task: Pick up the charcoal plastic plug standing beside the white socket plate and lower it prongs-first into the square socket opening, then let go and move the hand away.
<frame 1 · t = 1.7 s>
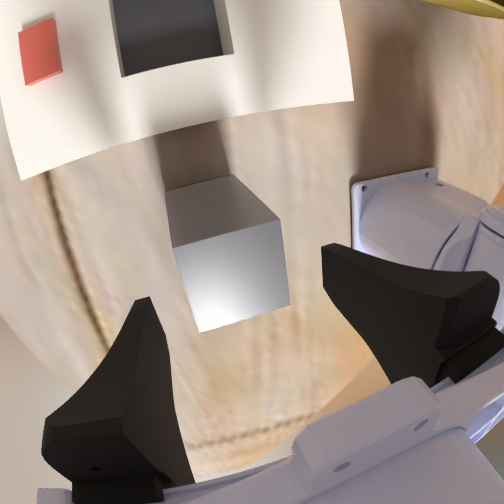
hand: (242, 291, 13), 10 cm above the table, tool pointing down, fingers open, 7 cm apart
plug: (204, 210, 21), on the table
socket plate: (167, 26, 15), on the table
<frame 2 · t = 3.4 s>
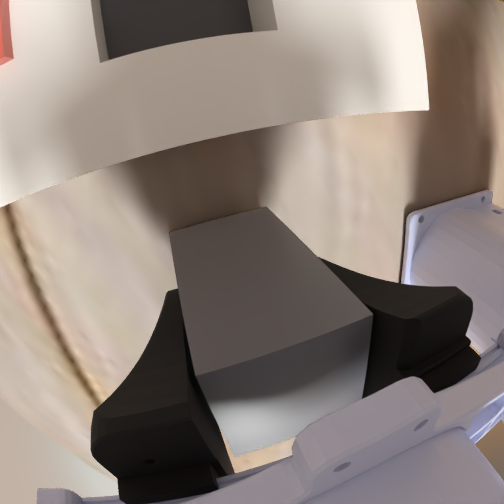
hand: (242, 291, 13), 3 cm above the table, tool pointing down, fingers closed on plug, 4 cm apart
plug: (224, 254, 16), on the table, touching gripper
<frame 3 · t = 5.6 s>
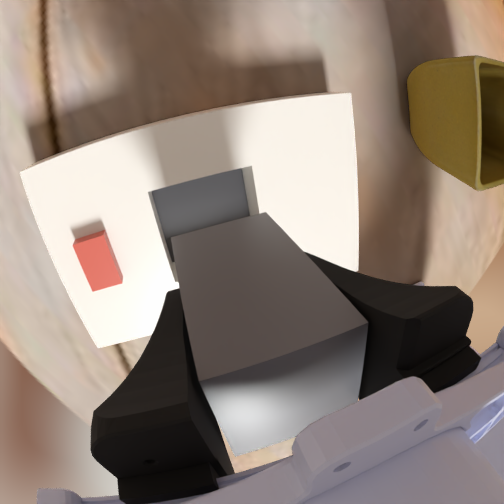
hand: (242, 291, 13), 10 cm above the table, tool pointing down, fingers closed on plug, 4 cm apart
plug: (224, 258, 16), point 7 cm above the table, touching gripper
socket plate: (203, 210, 22), on the table
flower pot: (425, 105, 23), on the table
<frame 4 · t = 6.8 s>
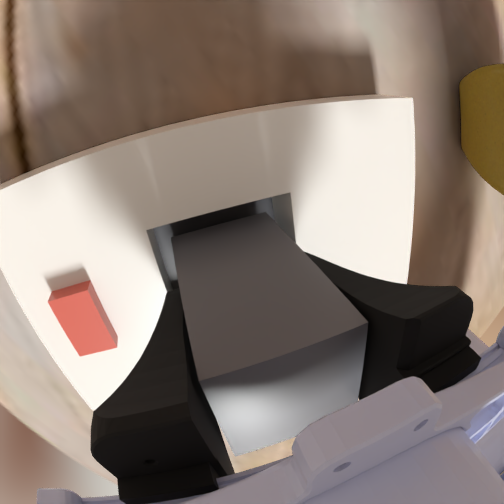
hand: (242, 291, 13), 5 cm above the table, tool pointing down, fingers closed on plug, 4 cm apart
plug: (224, 258, 16), point 1 cm above the table, touching gripper
socket plate: (219, 244, 17), on the table
flower pot: (474, 114, 18), on the table
when the fingers open (4 cm above the table, at t = 8.0 s): plug stays where it is, resting on socket plate.
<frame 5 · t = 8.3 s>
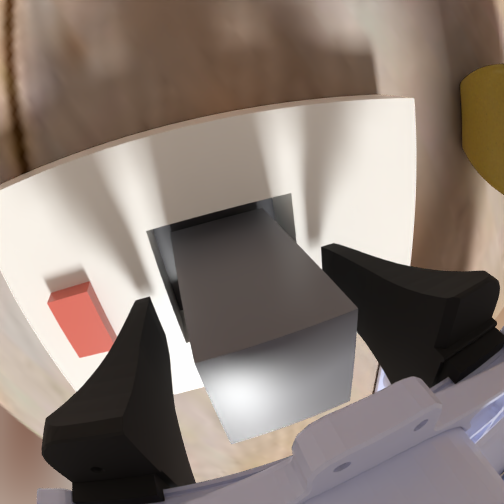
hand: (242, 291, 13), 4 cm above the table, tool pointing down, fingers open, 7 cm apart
plug: (222, 253, 17), resting on socket plate
socket plate: (220, 245, 17), on the table
flower pot: (475, 114, 18), on the table
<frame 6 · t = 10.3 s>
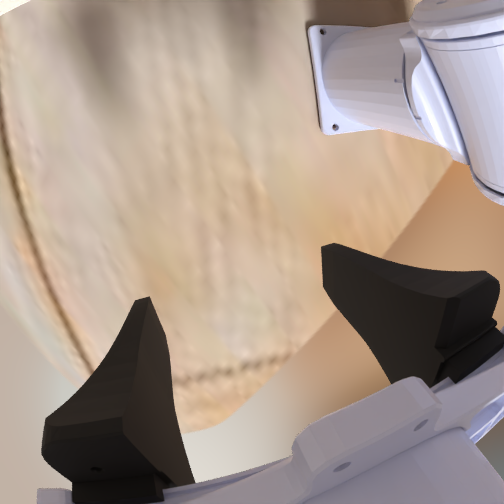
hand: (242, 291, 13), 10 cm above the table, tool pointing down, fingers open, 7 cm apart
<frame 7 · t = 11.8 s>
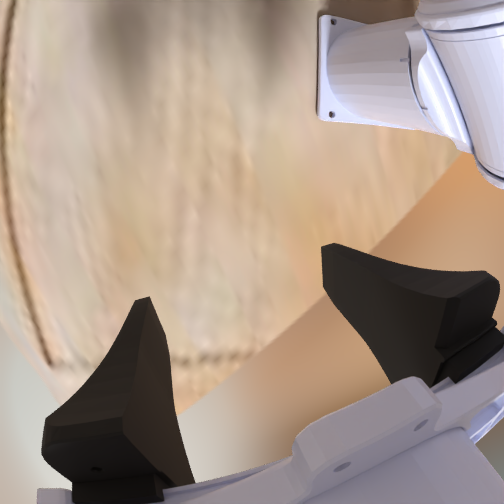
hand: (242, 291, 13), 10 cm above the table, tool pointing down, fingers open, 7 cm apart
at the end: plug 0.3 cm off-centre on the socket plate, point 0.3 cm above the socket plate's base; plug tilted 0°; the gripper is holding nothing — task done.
